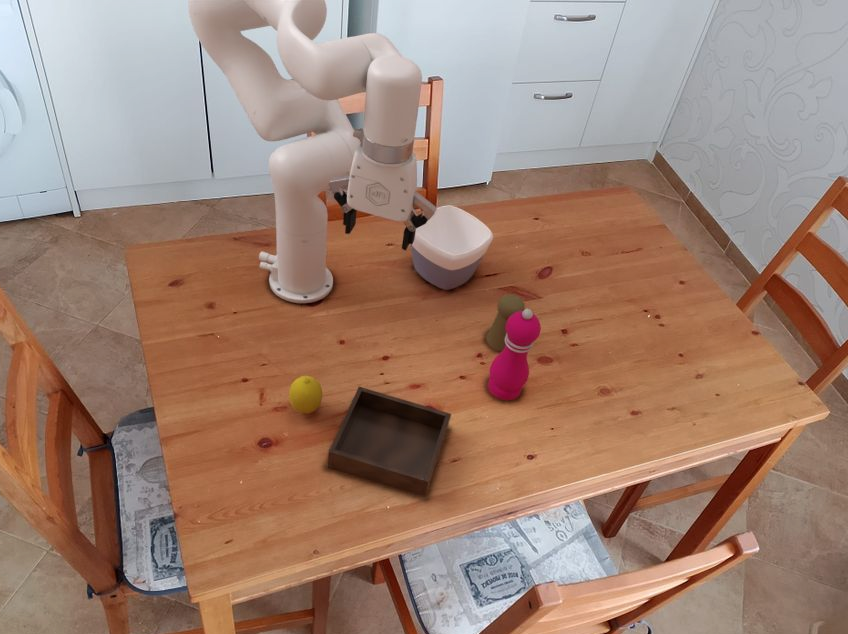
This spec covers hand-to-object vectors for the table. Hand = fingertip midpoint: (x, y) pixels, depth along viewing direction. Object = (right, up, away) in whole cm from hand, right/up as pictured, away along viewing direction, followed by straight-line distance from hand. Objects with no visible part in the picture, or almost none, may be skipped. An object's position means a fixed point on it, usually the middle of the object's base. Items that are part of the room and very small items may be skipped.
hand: (378, 237), depth 119 cm
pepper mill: (+22, -26, +17) cm, 38 cm away
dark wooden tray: (+2, -35, +4) cm, 35 cm away
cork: (+22, -17, +26) cm, 38 cm away
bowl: (+11, -2, +38) cm, 39 cm away
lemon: (-13, -29, +7) cm, 32 cm away
